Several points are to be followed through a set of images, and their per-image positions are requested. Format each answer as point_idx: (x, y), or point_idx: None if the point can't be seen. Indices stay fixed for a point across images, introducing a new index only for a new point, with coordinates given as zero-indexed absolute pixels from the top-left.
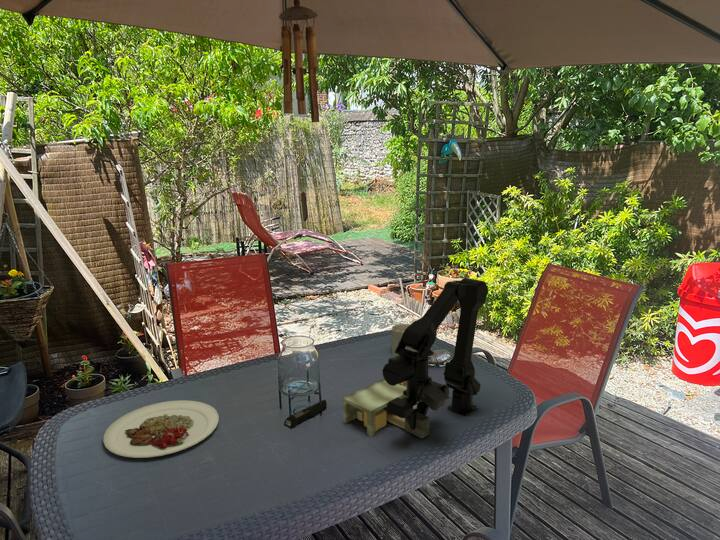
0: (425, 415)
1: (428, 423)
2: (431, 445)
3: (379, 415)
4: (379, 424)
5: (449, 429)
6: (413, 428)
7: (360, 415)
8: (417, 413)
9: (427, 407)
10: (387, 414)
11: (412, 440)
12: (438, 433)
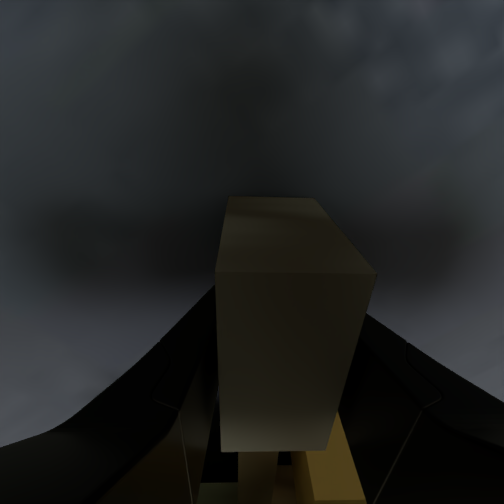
0: (180, 331)
1: (236, 234)
2: (331, 91)
3: None
4: None
5: (23, 124)
6: None
7: None
8: (242, 398)
9: (143, 437)
10: (275, 459)
11: (349, 240)
12: (147, 158)
